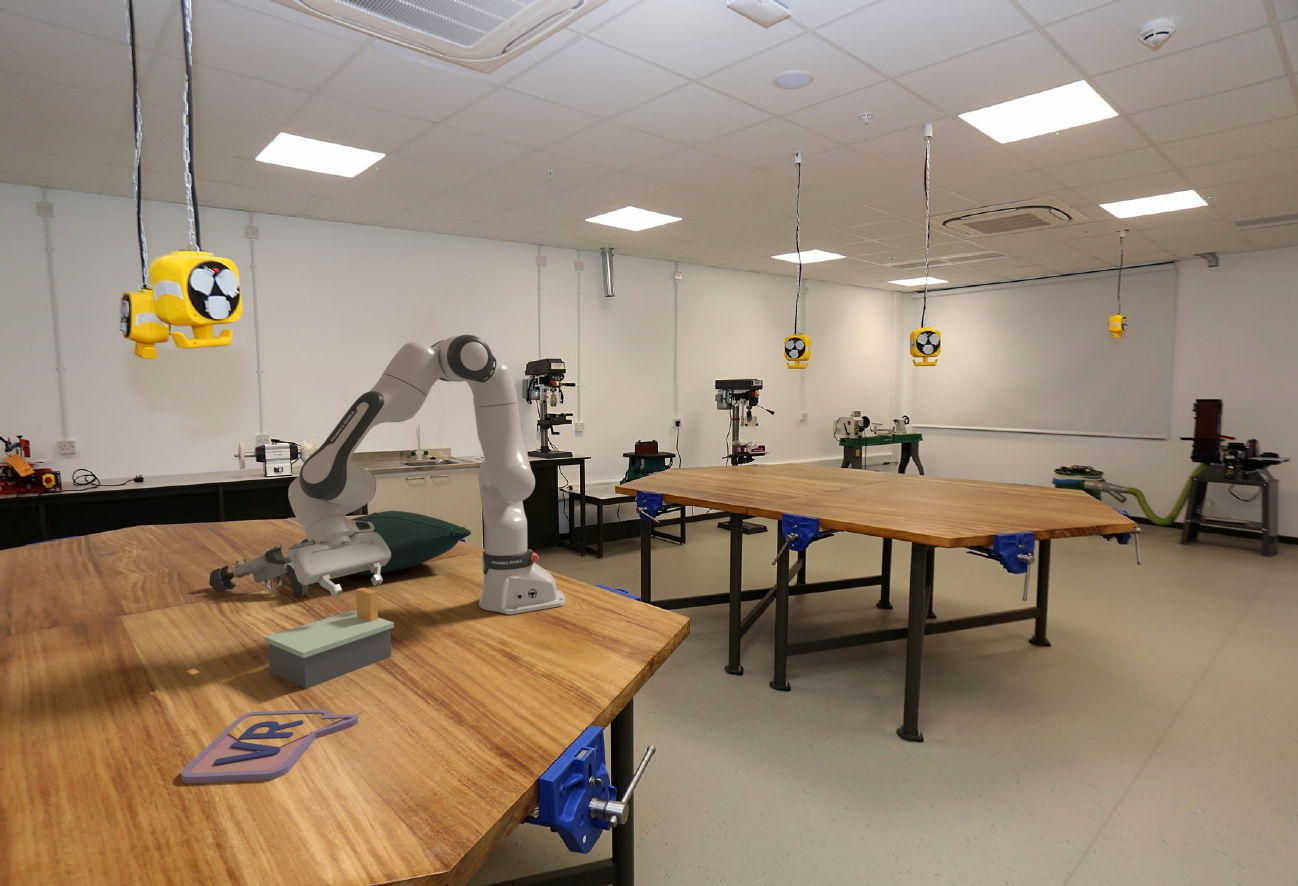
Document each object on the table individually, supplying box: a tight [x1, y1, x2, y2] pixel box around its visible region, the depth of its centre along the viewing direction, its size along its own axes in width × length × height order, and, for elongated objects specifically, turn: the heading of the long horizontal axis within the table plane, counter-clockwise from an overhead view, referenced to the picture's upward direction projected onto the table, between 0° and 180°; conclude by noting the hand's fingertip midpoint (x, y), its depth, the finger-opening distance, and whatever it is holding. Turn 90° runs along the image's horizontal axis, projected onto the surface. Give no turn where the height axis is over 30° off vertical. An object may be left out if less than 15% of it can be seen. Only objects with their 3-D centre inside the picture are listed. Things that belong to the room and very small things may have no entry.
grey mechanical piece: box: [208, 543, 309, 598], centre depth 180 cm, size 6×28×16 cm, turn 78°
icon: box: [180, 709, 359, 784], centre depth 103 cm, size 19×2×20 cm
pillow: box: [299, 510, 472, 576], centre depth 204 cm, size 44×18×44 cm
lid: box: [264, 587, 395, 658], centre depth 131 cm, size 19×14×8 cm
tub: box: [268, 628, 392, 690], centre depth 132 cm, size 18×13×7 cm
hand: (358, 588), depth 139 cm, fingers open, 8 cm apart
